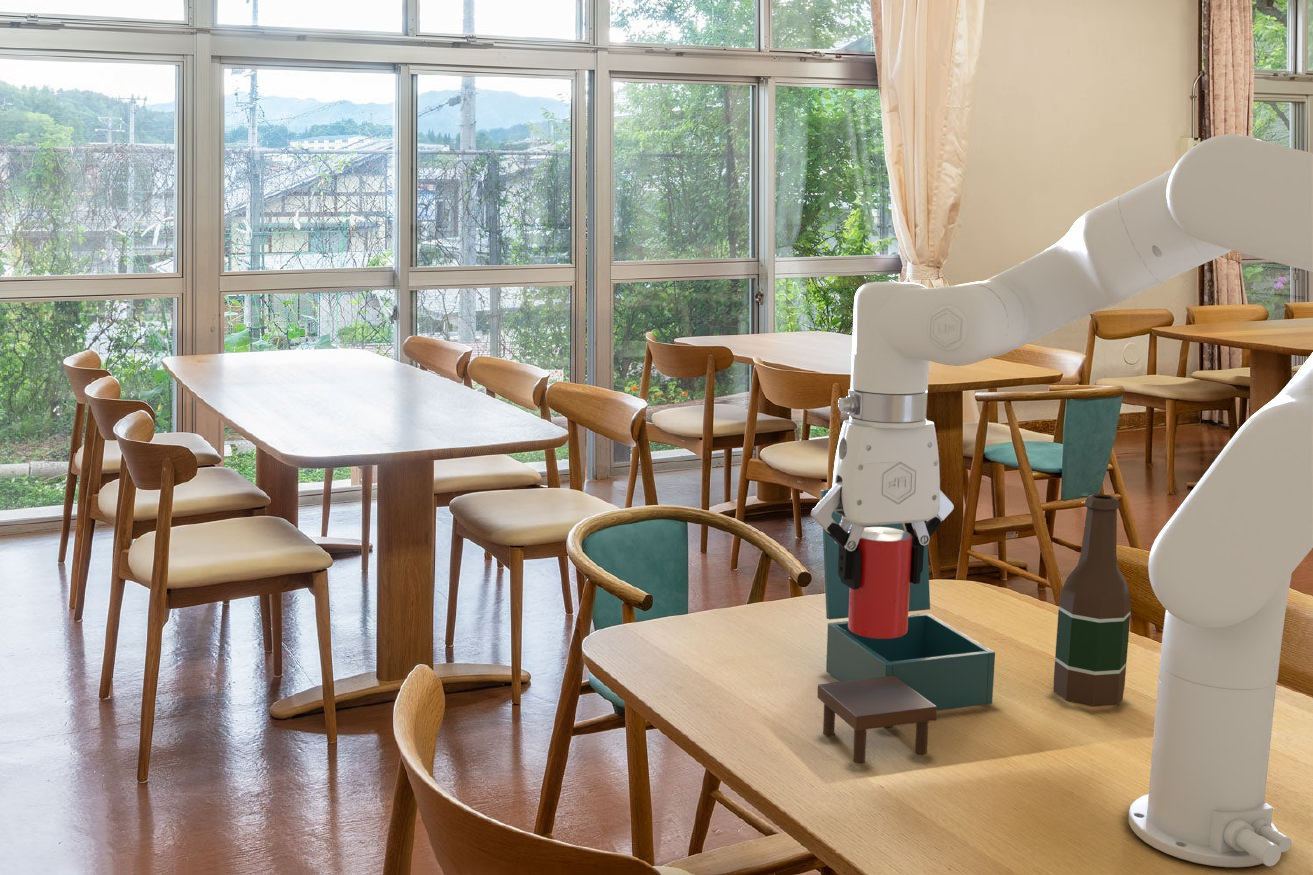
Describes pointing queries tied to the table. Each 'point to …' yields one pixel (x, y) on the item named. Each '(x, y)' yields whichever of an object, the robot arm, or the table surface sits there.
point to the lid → (840, 592)
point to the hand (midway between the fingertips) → (880, 581)
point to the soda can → (882, 584)
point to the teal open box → (917, 661)
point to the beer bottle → (1094, 615)
